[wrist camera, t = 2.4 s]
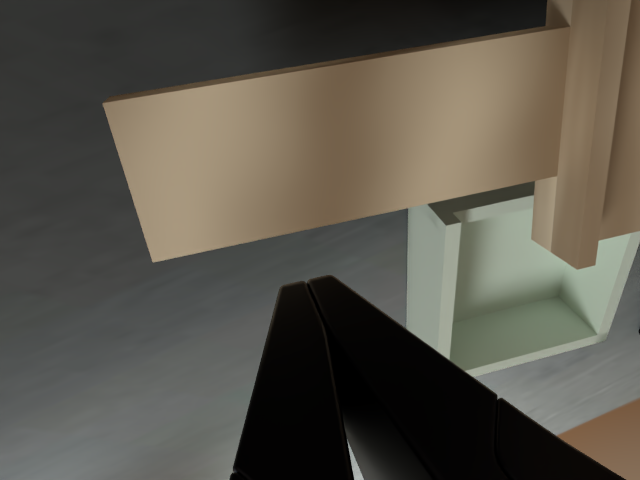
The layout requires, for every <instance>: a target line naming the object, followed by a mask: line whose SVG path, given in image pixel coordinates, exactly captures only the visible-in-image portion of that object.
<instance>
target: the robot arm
mask: <svg viewBox="0 0 640 480" xmlns="http://www.w3.org/2000/svg"><path fill="white" fill-rule="evenodd" d="M639 334H640V329H639ZM347 440H348V442H349V445H350V447H351V449H352V452H353V454H354V456H355V459H356V461H357V464H358V466H359V468H360V471H361V473H362V476H363V478H364V480H626V479H624V478H622V477H621V476H619V475H617V474H616V473H614V472H612V471H611V470H609V469H608V468H606V467H604V466H603V465H601V464H600V463H598V462H596V461H595V460H593V459H592V458H590V457H588V456H587V455H585V454H584V453H582V452H580V451H579V450H577V449H576V448H574V447H572V446H571V445H569V444H567V443H566V442H564V441H563V440H561V439H560V438H559V437H557V436H556V435H554V434H553V433H551V432H550V431H548V430H547V429H545V428H544V427H543V426H541V425H540V424H538V423H537V422H535V421H534V420H532V419H531V418H529V417H528V416H527V415H525V414H524V413H522V412H521V411H520V410H518V409H517V408H515V407H514V406H513V405H511V404H510V403H509V402H507V401H506V400H504V399H503V398H499V399H498V400H497V394H496V393H494V392H493V391H492V390H490V389H489V388H487V387H486V386H485V385H483V384H482V383H481V382H479V381H478V380H476V379H475V378H474V377H472V376H471V375H469V374H468V373H467V372H465V371H464V370H463V369H461V368H460V367H458V366H457V365H456V364H454V363H453V362H452V361H450V360H449V359H447V358H446V357H445V356H443V355H442V354H440V353H439V352H438V351H436V350H435V349H434V348H432V347H431V346H429V345H428V344H427V343H425V342H424V341H423V340H421V339H420V338H418V337H417V336H416V335H414V334H413V333H411V332H410V331H409V330H407V329H406V328H405V327H403V326H402V325H400V324H399V323H398V322H396V321H395V320H394V319H392V318H391V317H389V316H388V315H387V314H385V313H384V312H382V311H381V310H380V309H378V308H377V307H376V306H374V305H373V304H371V303H370V302H369V301H367V300H366V299H365V298H363V297H362V296H360V295H359V294H358V293H356V292H355V291H353V290H352V289H351V288H349V287H348V286H347V285H345V284H344V283H342V282H341V281H340V280H338V279H337V278H336V277H334V276H332V275H326V276H321V277H317V278H313V279H309V280H308V282H307V284H306V283H305V282H304V281H299V282H295V283H290V284H286V285H283V286H281V287H280V289H279V292H278V296H277V300H276V304H275V308H274V312H273V316H272V319H271V323H270V327H269V331H268V335H267V339H266V342H265V346H264V350H263V354H262V358H261V362H260V366H259V369H258V373H257V377H256V381H255V385H254V389H253V392H252V396H251V400H250V404H249V408H248V412H247V415H246V419H245V423H244V427H243V431H242V435H241V439H240V442H239V446H238V450H237V454H236V458H235V462H234V465H233V471H234V473H232V474H231V476H230V480H354V476H353V471H352V465H351V459H350V454H349V448H348V443H347Z"/></svg>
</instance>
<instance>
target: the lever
mask: <svg viewBox="0 0 640 480" xmlns="http://www.w3.org/2000/svg"><path fill="white" fill-rule="evenodd" d="M103 106H104V109H105V112H106V116H107V119H108V122H109V125H110V128H111V131H112V135H113V138H114V141H115V144H116V147H117V151H118V154H119V157H120V160H121V163H122V166H123V170H124V173H125V176H126V179H127V182H128V185H129V189H130V192H131V195H132V198H133V201H134V204H135V208H136V211H137V214H138V217H139V220H140V223H141V227H142V230H143V233H144V236H145V239H146V242H147V246H148V249H149V252H150V255H151V258H152V262H157V261H162V260H167V259H171V258H176V257H181V256H185V255H190V254H195V253H200V252H204V251H209V250H214V249H218V248H223V247H228V246H232V245H237V244H242V243H246V242H251V241H256V240H260V239H265V238H270V237H274V236H279V235H284V234H289V233H293V232H298V231H303V230H307V229H312V228H317V227H321V226H326V225H331V224H335V223H340V222H345V221H349V220H354V219H359V218H363V217H368V216H373V215H378V214H382V213H387V212H392V211H396V210H401V209H406V208H410V207H415V206H420V205H424V204H429V203H434V202H438V201H443V200H448V199H452V198H457V197H462V196H467V195H471V194H476V193H481V192H485V191H490V190H495V189H499V188H504V187H509V186H513V185H518V184H523V183H527V182H532V181H535V189H534V204H533V219H532V234H531V240H533V241H534V242H536V243H537V244H539V245H540V246H542V247H543V248H545V249H546V250H548V251H549V252H551V253H552V254H554V255H555V256H557V257H559V258H560V259H562V260H563V261H565V262H566V263H568V264H569V265H571V266H572V267H574V268H575V269H577V270H578V269H582V268H587V267H591V266H595V265H596V257H597V250H598V242H599V241H600V240H604V239H608V238H612V237H617V236H621V235H625V234H629V233H633V232H637V231H640V0H547V12H546V26H543V27H537V28H531V29H524V30H518V31H512V32H506V33H500V34H493V35H487V36H481V37H475V38H469V39H463V40H456V41H450V42H444V43H438V44H432V45H426V46H419V47H413V48H407V49H401V50H395V51H389V52H382V53H376V54H370V55H364V56H358V57H351V58H345V59H339V60H333V61H327V62H321V63H314V64H308V65H302V66H296V67H290V68H284V69H277V70H271V71H265V72H259V73H253V74H246V75H240V76H234V77H228V78H222V79H216V80H209V81H203V82H197V83H191V84H185V85H179V86H172V87H166V88H160V89H154V90H148V91H142V92H135V93H129V94H123V95H117V96H111V97H109V98H108V99H107V100H106V101H104V102H103Z"/></svg>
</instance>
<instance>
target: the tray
mask: <svg viewBox="0 0 640 480" xmlns="http://www.w3.org/2000/svg"><path fill="white" fill-rule="evenodd" d="M534 189H535V181H532V182H527V183H523V184H518V185H513V186H509V187H504V188H499V189H495V190H490V191H485V192H481V193H476V194H471V195H467V196H462V197H457V198H452V199H448V200H443V201H438V202H434V203H429V204H424V205H420V206H415V207H410V208H408V253H407V323H406V329H407V330H409V331H410V332H411V333H413V334H414V335H416V336H417V337H418V338H420V339H421V340H423V341H424V342H425V343H427V344H428V345H429V346H431V347H432V348H434V349H435V350H436V351H438V352H439V353H440V354H442V355H443V356H445V357H446V358H447V359H449V360H450V361H452V362H453V363H454V364H456V365H457V366H458V367H460V368H461V369H463V370H464V371H465V372H467V373H468V374H469V375H471V376H472V377H475V376H479V375H482V374H486V373H490V372H493V371H497V370H501V369H504V368H508V367H512V366H515V365H519V364H522V363H526V362H530V361H533V360H537V359H541V358H544V357H548V356H552V355H555V354H559V353H563V352H566V351H570V350H574V349H577V348H581V347H585V346H588V345H592V344H596V343H599V342H603V341H606V338H607V336H608V333H609V330H610V327H611V324H612V321H613V318H614V315H615V312H616V309H617V306H618V304H619V301H620V298H621V295H622V292H623V289H624V286H625V283H626V280H627V277H628V274H629V272H630V269H631V266H632V263H633V260H634V257H635V254H636V251H637V248H638V245H639V242H640V231H637V232H633V233H629V234H625V235H621V236H617V237H612V238H608V239H604V240H600V241H599V242H598V250H597V257H596V265H595V266H591V267H587V268H582V269H578V270H577V269H575V268H574V267H572V266H571V265H569V264H568V263H566V262H565V261H563V260H562V259H560V258H559V257H557V256H555V255H554V254H552V253H551V252H549V251H548V250H546V249H545V248H543V247H542V246H540V245H539V244H537V243H536V242H534V241H533V240H531V234H532V219H533V204H534Z"/></svg>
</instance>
